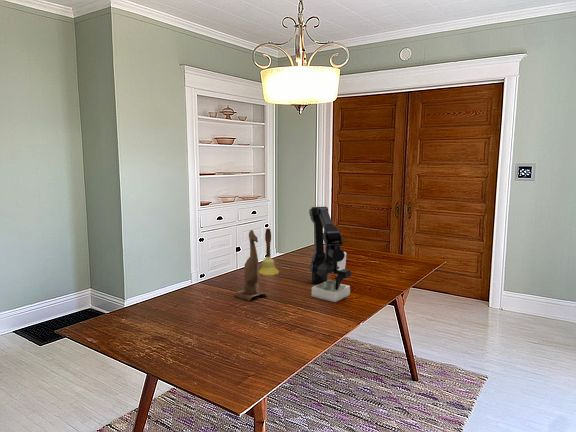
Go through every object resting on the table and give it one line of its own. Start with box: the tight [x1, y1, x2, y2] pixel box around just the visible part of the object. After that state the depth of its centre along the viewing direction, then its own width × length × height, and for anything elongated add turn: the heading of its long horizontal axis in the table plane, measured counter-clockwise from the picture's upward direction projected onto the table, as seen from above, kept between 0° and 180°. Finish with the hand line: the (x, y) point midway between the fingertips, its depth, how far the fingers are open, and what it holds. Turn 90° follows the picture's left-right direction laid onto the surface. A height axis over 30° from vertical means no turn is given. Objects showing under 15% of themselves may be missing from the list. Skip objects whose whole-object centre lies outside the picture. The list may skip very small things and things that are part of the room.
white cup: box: [337, 251, 347, 270], centre depth 249 cm, size 8×8×10 cm
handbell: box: [259, 228, 280, 276], centre depth 242 cm, size 12×12×25 cm
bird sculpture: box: [234, 229, 269, 303], centre depth 201 cm, size 11×12×32 cm
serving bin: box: [311, 283, 351, 303], centre depth 204 cm, size 13×13×4 cm
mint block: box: [323, 279, 338, 292], centre depth 204 cm, size 5×5×6 cm
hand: (330, 288), depth 204 cm, fingers open, 6 cm apart
